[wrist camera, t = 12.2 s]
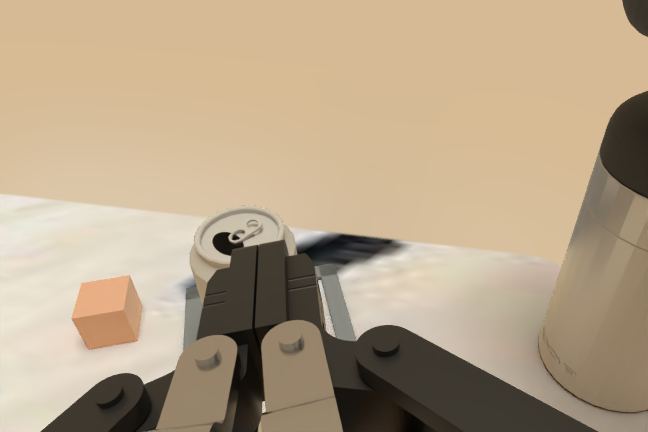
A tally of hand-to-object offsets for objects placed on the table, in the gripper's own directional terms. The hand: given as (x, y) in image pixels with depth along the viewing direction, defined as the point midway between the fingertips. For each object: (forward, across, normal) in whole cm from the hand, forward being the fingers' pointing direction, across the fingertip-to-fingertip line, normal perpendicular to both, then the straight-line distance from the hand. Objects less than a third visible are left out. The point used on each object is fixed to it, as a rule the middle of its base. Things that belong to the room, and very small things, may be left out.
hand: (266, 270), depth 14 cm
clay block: (+23, +18, +19) cm, 35 cm away
